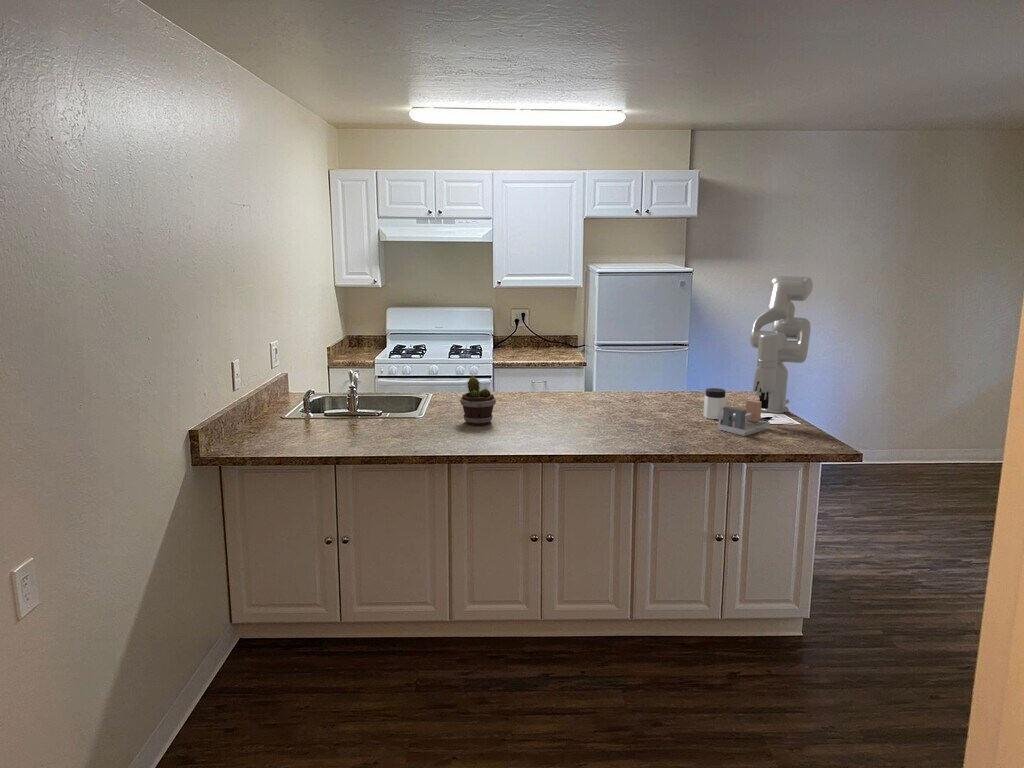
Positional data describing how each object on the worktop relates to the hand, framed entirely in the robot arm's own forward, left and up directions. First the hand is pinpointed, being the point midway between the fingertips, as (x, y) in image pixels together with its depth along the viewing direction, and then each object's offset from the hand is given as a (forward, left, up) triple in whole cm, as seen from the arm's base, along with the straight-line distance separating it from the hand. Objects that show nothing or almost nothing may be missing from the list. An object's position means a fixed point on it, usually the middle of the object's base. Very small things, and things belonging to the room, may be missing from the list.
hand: (763, 408), depth 297 cm
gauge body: (+13, 0, -7) cm, 15 cm away
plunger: (+12, +2, -4) cm, 13 cm away
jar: (+6, -19, -7) cm, 21 cm away
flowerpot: (+90, -75, -7) cm, 118 cm away
